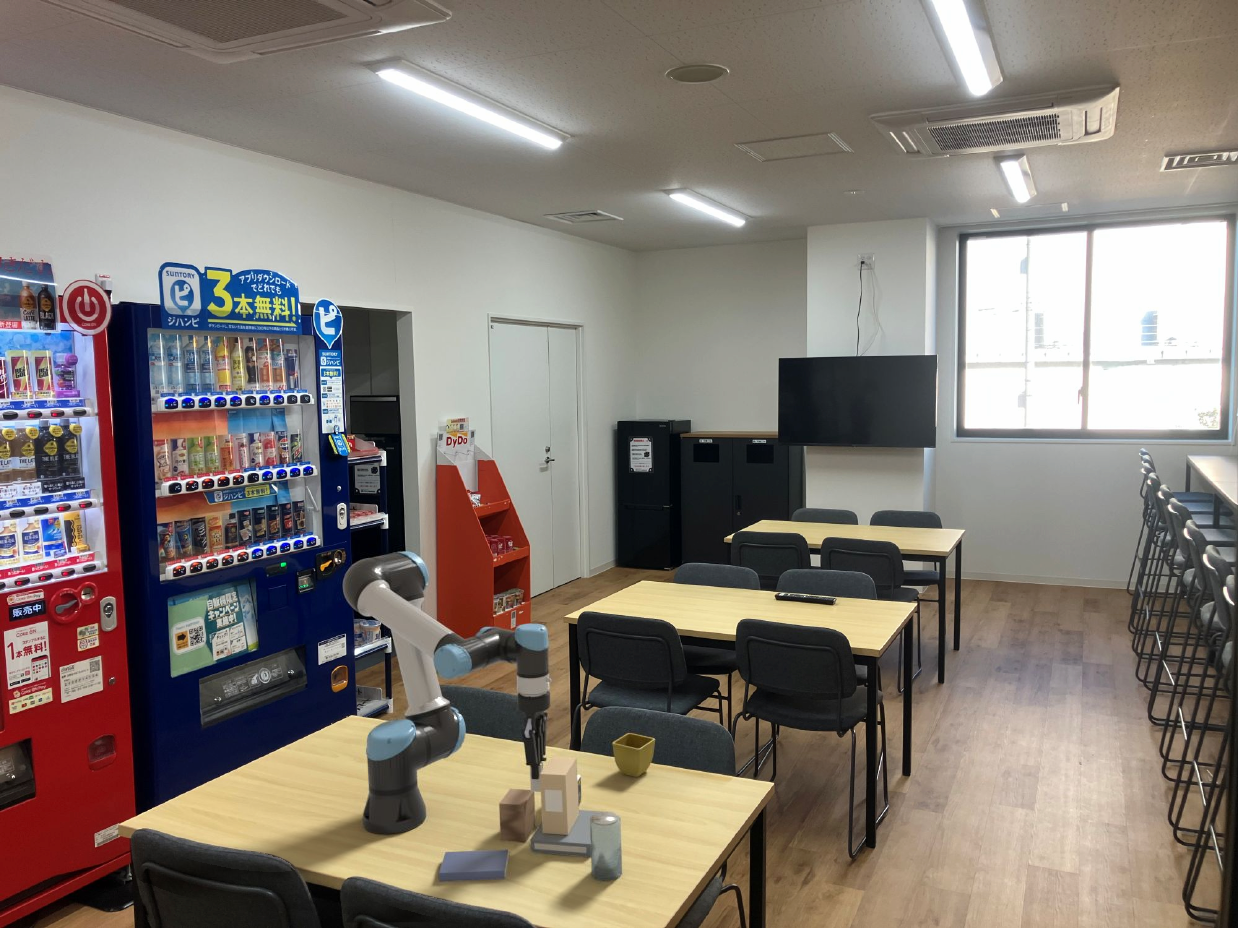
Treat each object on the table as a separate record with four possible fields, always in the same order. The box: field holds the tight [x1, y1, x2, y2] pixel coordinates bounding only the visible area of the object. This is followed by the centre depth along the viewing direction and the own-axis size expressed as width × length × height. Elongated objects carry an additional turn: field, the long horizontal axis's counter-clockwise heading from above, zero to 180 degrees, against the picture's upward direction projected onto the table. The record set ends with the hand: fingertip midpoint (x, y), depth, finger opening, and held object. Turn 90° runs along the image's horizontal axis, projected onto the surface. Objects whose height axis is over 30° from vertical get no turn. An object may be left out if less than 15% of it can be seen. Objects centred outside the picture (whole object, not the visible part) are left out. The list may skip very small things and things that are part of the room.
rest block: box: [498, 788, 536, 844], centre depth 216 cm, size 6×8×9 cm
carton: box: [540, 756, 580, 835], centre depth 214 cm, size 6×10×14 cm, turn 168°
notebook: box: [438, 849, 510, 883], centre depth 201 cm, size 14×9×2 cm, turn 92°
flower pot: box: [611, 732, 656, 778], centre depth 249 cm, size 9×9×9 cm
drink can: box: [590, 811, 623, 882], centre depth 197 cm, size 7×7×12 cm
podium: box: [529, 809, 603, 858], centre depth 214 cm, size 14×16×3 cm
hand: (537, 789), depth 215 cm, fingers closed
